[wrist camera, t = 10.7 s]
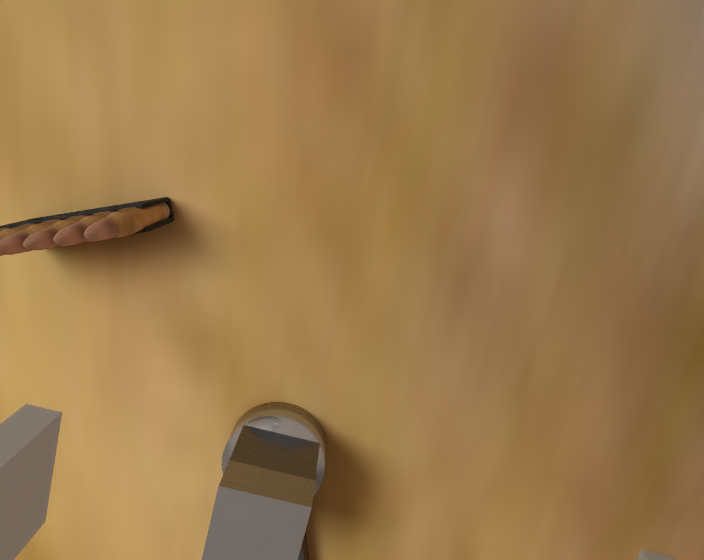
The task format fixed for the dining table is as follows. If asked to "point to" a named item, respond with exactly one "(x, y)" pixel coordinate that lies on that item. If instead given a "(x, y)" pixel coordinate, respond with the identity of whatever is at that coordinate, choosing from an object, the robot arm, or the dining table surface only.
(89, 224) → the ammunition clip
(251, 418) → the metal ladle
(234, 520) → the grey rectangular block
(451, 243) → the dining table surface
